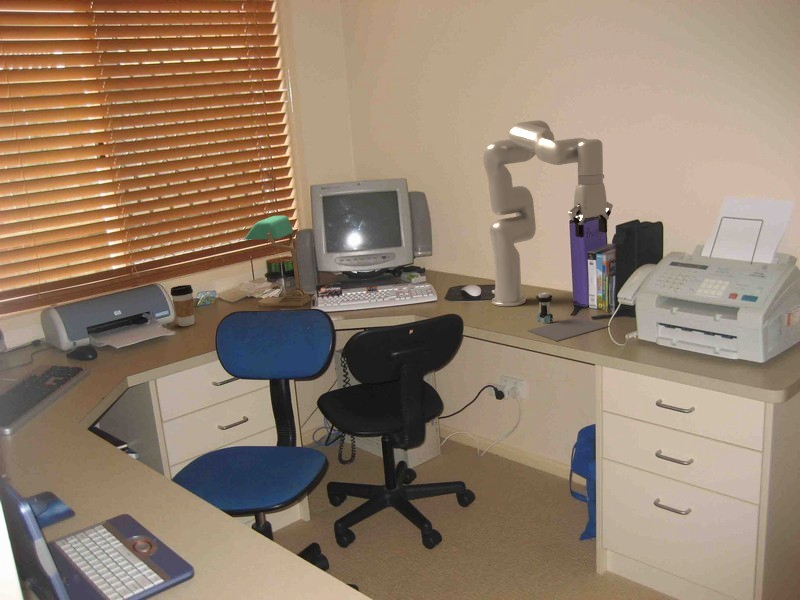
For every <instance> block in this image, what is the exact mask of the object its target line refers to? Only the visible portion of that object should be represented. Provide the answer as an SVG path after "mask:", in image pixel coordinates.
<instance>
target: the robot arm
mask: <svg viewBox="0 0 800 600" xmlns="http://www.w3.org/2000/svg"><path fill="white" fill-rule="evenodd" d="M508 132H509V133H508V138H509V139H502V140H496V141H493V142H490V143H489V144H488V145H487V146H486V147H485V148H484V151H483V156H482V162H483V165H484V170H485V172H486V176H487V180H488V191H489V200H490V207H491V210H492V212H493V214H495V215H497V216H505V215H511V214H515V216H512V217H511V216H510V217H506V218H501V219H497V220H496V221H494V222H493V223H492V224H491V225H490V228H489V237H490V241H491V243H492V245H491V246H492V251H493V265H494V283H495V285H494V286H495V288H494V289H492V290H491V293H492V294H493V295H494V297H493V298H492V299H491V304H492V305H495V306H498V307H516V306H520V305H523V304H525V303H526V302H527V298H526V297H525V296H523V295H522V278H521V258H520V253H519V251H518V249H517V247H516V246H515V244H517V243H522V242H527V241H530V240H532V239H533V238H534V236H535V234H536V229H537V228H536V216H535V215H536V213H535V206H534V205H535V204H534V198H533V195H532V193H531V191H530V190H529V189H528V188H527V187H525V186H523V185H517V186H514V185H513V179H512V174H511V172H510V171H509V169H508V168H507V166H506V165H510V164H517V163H524V162H525V163H526V162H527V161H530V160H532V159H533V158H534V157H535V156H536V158H537V159H538V160H540V161H541V162H544V163H547V164H550V165H555V166H556V165H557V166H562V165H567V164H577V185H576V186H575V190H574V196H573V207H572V209H570V210H569V211H568V215H569V218H570V221H571V222H572V224H573V225H574V226H575V228H574V230H575V231H574V232H575V233H574V234H575V237H576V238H584V237H585V230H584V229H585V228H584V227H585V226H584V222H585V220H586V219H588V218H593V217H598V232H600V233H607V232H608V220H609V219H610V215H611V213H612V209H613V207H614V205H613V204H612V203H610V202H608V201H607V192H606V187H605V183H604V179H605V175H604V166H603V165H604V157H603V153H604V152H603V146H604V145H603V142H602V140H600V139H595V138H594V139H593V138H592V139H591V138H589V139H588V138H585V137H584V138H583V137H577V138H567V139H566V138H565V139H561V140H555V135H554V133H553V131H552V130H551V128H550V126H549V124H548V123H546V122H545V121H543V120H538V119H537V120H529V121H520V122H517V123H516V124H513V126H511V128H510V130H509V131H508Z"/></svg>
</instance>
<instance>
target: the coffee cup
mask: <svg viewBox="0 0 800 600" xmlns="http://www.w3.org/2000/svg"><path fill="white" fill-rule="evenodd" d="M193 293H194V289H193V287H192V285H191V284H183V285H177V286H172V287H171V288H170V293H169V294H170V296H171V298H172V303H173V308H174V312H175V315H176V318H177V323H178V326H180V327H188V326H192V325H194V324H195V321H196V320H195V306H194V296H193Z"/></svg>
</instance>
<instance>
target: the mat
mask: <svg viewBox="0 0 800 600" xmlns="http://www.w3.org/2000/svg"><path fill="white" fill-rule="evenodd" d="M608 327H610V325H607V324H605V323H604V324H603V323H601V322H597V321H594V320H592V319H588V318H584V317H581V316H576V317H573V318H568V319H565V320H561V321H558V322H553V323H548V324H545V325H542V326H539V327H535V328H532V329H531V328H530V329H528V330H527V332H529V333H531V334H535V335H538V336H540V337H543V338H546V339H549V340H551V341H553V342H561V341H564V340H567V339H571V338H574V337H577V336H581V335H584V334H588V333H591V332H595V331H598V330H599V331H600V330H602V329H606V328H608Z"/></svg>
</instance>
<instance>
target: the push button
mask: <svg viewBox="0 0 800 600" xmlns="http://www.w3.org/2000/svg"><path fill="white" fill-rule="evenodd" d="M535 297H536V302H538V303H539V304H538V305H539V311H538V313H537V322H538V323H539V322H540V323H545V324H552V322H553V323H557V322H556V318H554V315H553V314H552V313H551V308H550V307H551V304H550V302H552V301H553V295H552V294H550V292H548V291H543V292H539V293H538V295H536V296H535Z"/></svg>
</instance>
